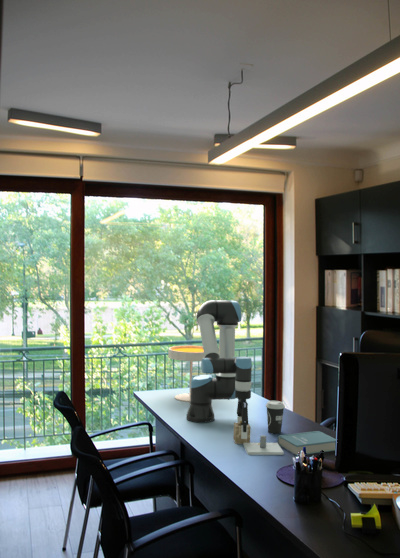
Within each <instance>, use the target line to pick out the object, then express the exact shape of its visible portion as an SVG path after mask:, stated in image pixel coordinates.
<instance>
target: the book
mask: <svg viewBox="0 0 400 558" xmlns="http://www.w3.org/2000/svg"><path fill="white" fill-rule="evenodd" d="M276 441H277V442H276V443H278V444H279V446H280V448H283V449H284V450H285V451H288V452H289V453H290V454H293V455H294V454H295V456H297V454H298V452H299V451H301V450H303V447H306V453H307V454H306V455H312V454H320V453H321V452H320V451H321V450H323V451H324V452H323V453H326V452H327V453H328V452H335V441H336V438H334V437H332V436H331V435H328V434H327V433H325V432H322V431H320V430H315V431H306V432H305V431H304V432H298V433H296V432H295V433H288V434H280V435H279V434H278V436H277V440H276Z"/></svg>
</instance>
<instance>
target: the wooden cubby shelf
mask: <svg viewBox="0 0 400 558" xmlns="http://www.w3.org/2000/svg"><path fill="white" fill-rule="evenodd" d="M241 423H242V421H240V423H237V422H233V438H232V439H233V442H234V443H235V444H236V445H238V444H239V445H240V444H241V445H243V443H251V432H252V431H251V430H252V429H251V425H250V423H249V424H248V426H247V439H241Z"/></svg>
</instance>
